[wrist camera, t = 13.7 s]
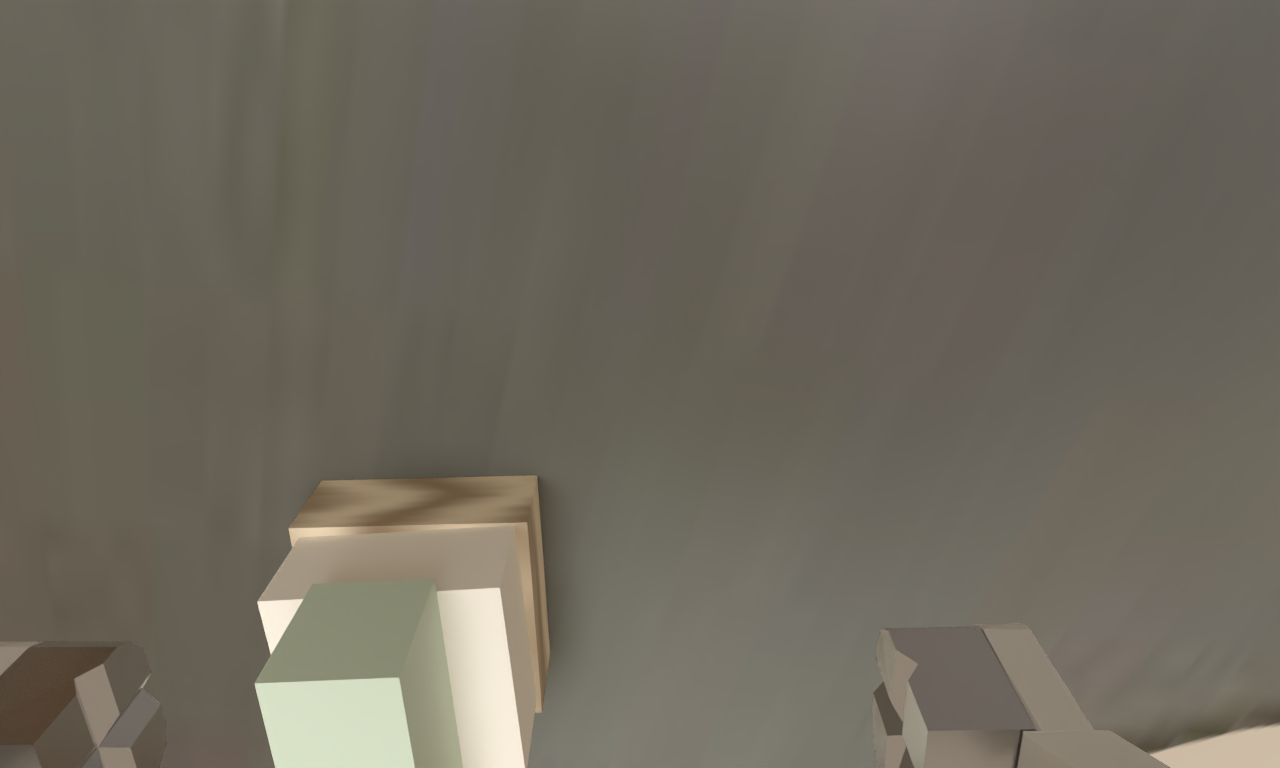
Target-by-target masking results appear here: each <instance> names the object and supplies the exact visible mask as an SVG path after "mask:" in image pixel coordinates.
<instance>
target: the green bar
mask: <svg viewBox="0 0 1280 768" xmlns="http://www.w3.org/2000/svg"><path fill="white" fill-rule="evenodd" d="M255 688H256V692H257V696H258V700H259V704H260V708H261V712H262V716H263V720H264V724H265V728H266V732H267V736H268V740H269V744H270V748H271V752H272V756H273V760H274V764H275V768H463V765H462V758H461V751H460V745H459V738H458V731H457V725H456V718H455V711H454V705H453V698H452V691H451V685H450V678H449V671H448V664H447V658H446V651H445V644H444V638H443V631H442V624H441V618H440V611H439V604H438V598H437V591H436V584H435V579H415V580H391V581H368V582H345V583H321V584H312V585H311V587H310V589H309V590H308V592H307V594H306V596H305V597H304V599H303V601H302V602H301V604H300V606H299V608H298V609H297V611H296V613H295V615H294V616H293V618H292V620H291V621H290V623H289V625H288V627H287V628H286V630H285V632H284V633H283V635H282V637H281V639H280V640H279V642H278V644H277V646H276V647H275V649H274V651H273V652H272V654H271V656H270V658H269V659H268V661H267V663H266V665H265V666H264V668H263V670H262V671H261V673H260V675H259V677H258V678H257V680H256V682H255Z"/></svg>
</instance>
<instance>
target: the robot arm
mask: <svg viewBox="0 0 1280 768" xmlns="http://www.w3.org/2000/svg"><path fill="white" fill-rule="evenodd" d="M876 660H877V663H878V666H879V669H880V672H881V675H882V678H883V681H884V682H883V683H882V684H881V685H880V686H879V687H878V688H877V689H876V690H875V691H874V692H873V710H872V724H873V739H874V747H875V752H876V757H877V762H878V766H879V768H1170V767H1169V766H1167V765H1165V764H1164V763H1162V762H1160V761H1159V760H1157V759H1155V758H1154V757H1152V756H1151V755H1149V754H1147V753H1146V752H1144V751H1142V750H1141V749H1139V748H1138V747H1136V746H1134V745H1133V744H1131V743H1129V742H1128V741H1126V740H1124V739H1123V738H1121V737H1120V736H1118V735H1116V734H1115V733H1113V732H1111V731H1110V730H1094V729H1093V727H1092V725H1091V724H1090V722H1089V721H1088V719H1087V718H1086V716H1085V714H1084V713H1083V711H1082V710H1081V708H1080V707H1079V705H1078V703H1077V702H1076V700H1075V699H1074V697H1073V696H1072V694H1071V692H1070V691H1069V689H1068V688H1067V686H1066V685H1065V683H1064V681H1063V680H1062V678H1061V677H1060V675H1059V674H1058V672H1057V670H1056V669H1055V667H1054V666H1053V664H1052V663H1051V661H1050V659H1049V658H1048V656H1047V655H1046V653H1045V652H1044V650H1043V649H1042V647H1041V645H1040V644H1039V642H1038V641H1037V639H1036V638H1035V636H1034V634H1033V633H1032V631H1031V630H1030V628H1029V627H1027V626H1025V625H1024V624H1022V623H1004V624H982V625H974V627H928V628H884V629H881V632H880V635H879V638H878V645H877V656H876ZM150 674H151V669H150V666H149V663H148V660H147V658H146V655H145V652H144V649H143V647H141V646H138V645H136V644H134V643H132V642H88V641H45V642H0V768H160V765H161V761H162V758H163V754H164V751H165V747H166V720H165V717H164V713H163V709H162V706H161V704H160V703H159V702H158V701H157V700H156V699H154V698H153V697H152V696H151V695H150V694H149V693H147V692H146V691H145V690H144V689H143V687H144V685H145V683H146V681H147V679H148V678H149V676H150Z"/></svg>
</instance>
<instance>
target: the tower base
mask: <svg viewBox="0 0 1280 768" xmlns="http://www.w3.org/2000/svg"><path fill="white" fill-rule="evenodd" d="M508 525H515V533H516V540H517V548H518V556H519V564H520V572H521V579H522V587H523V595H524V603H525V611H526V618H527V626H528V634H529V642H530V650H531V658H532V665H533V673H534V681H535V689H536V697H537V701H536V708H535V713H542V710H543V703H544V695H545V687H546V680H547V672H548V664H549V657H550V644H549V630H548V617H547V603H546V589H545V576H544V562H543V548H542V535H541V521H540V507H539V494H538V480H537V475H530V476H490V477H451V478H412V479H373V480H334V481H321V482H320V484H319V485H318V487H317V488H316V489H315V491H314V492H313V494H312V495H311V497H310V498H309V500H308V501H307V502H306V504H305V505H304V507H303V508H302V510H301V511H300V513H299V514H298V515H297V517H296V518H295V520H294V521H293V523H292V524H291V525H290V527H289V533H290V539H291V544H292V548H293V546H294V545H295V543H296V542H297V540H298V539H299V538H302V537H320V536H337V535H354V534H371V533H388V532H405V531H422V530H439V529H456V528H474V527H491V526H508Z"/></svg>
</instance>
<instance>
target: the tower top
mask: <svg viewBox="0 0 1280 768" xmlns="http://www.w3.org/2000/svg"><path fill="white" fill-rule="evenodd" d="M415 579H435V584H436V591H437V598H438V604H439V611H440V618H441V624H442V631H443V638H444V644H445V651H446V658H447V664H448V671H449V678H450V685H451V691H452V698H453V705H454V711H455V718H456V725H457V731H458V738H459V745H460V751H461V758H462V765H463V768H527V765H528V758H529V751H530V744H531V736H532V729H533V722H534V715H535V708H536V701H537V697H536V689H535V681H534V673H533V665H532V658H531V650H530V642H529V634H528V626H527V618H526V611H525V603H524V595H523V587H522V579H521V572H520V564H519V556H518V548H517V540H516V533H515V525H508V526H491V527H474V528H456V529H439V530H422V531H405V532H388V533H371V534H354V535H337V536H320V537H302V538H299V539H298V540H297V542H296V543H295V545H294V546H293V548H292V549H291V551H290V553H289V554H288V556H287V557H286V559H285V560H284V562H283V563H282V565H281V566H280V568H279V569H278V571H277V572H276V574H275V575H274V577H273V578H272V580H271V581H270V583H269V585H268V586H267V588H266V589H265V591H264V592H263V594H262V595H261V597H260V598H259V600H258V601H257V603H258V606H259V610H260V614H261V618H262V622H263V626H264V630H265V634H266V637H267V641H268V645H269V649H270V653H271V654H272V652H273V651H274V649H275V647H276V646H277V644H278V642H279V640H280V639H281V637H282V635H283V633H284V632H285V630H286V628H287V627H288V625H289V623H290V621H291V620H292V618H293V616H294V615H295V613H296V611H297V609H298V608H299V606H300V604H301V602H302V601H303V599H304V597H305V596H306V594H307V592H308V590H309V589H310V587H311V585H312V584H321V583H345V582H368V581H391V580H415Z"/></svg>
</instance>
